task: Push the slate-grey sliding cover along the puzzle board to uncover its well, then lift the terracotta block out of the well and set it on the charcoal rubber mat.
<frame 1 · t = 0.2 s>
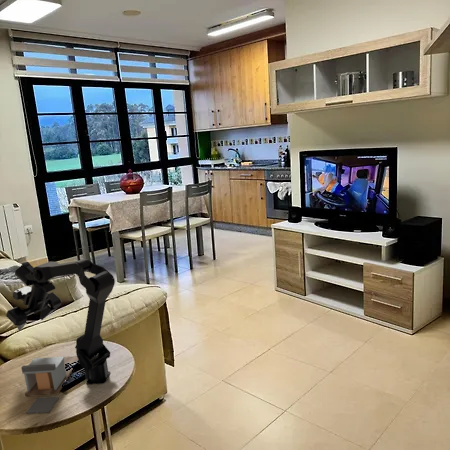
hand: (30, 324, 154), 15 cm above the table, tool tilted 30°, fingers open, 9 cm apart
puzzle board: (48, 386, 140), on the table
mat: (43, 405, 130), on the table
block: (46, 377, 139), in the puzzle board
cover: (45, 371, 139), point 5 cm above the table, slide at 0.0 cm
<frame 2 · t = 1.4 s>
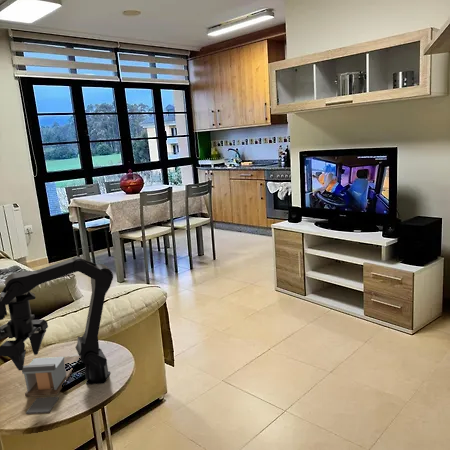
hand: (28, 362, 131), 13 cm above the table, tool pointing down, fingers open, 9 cm apart
nothing on the table moved.
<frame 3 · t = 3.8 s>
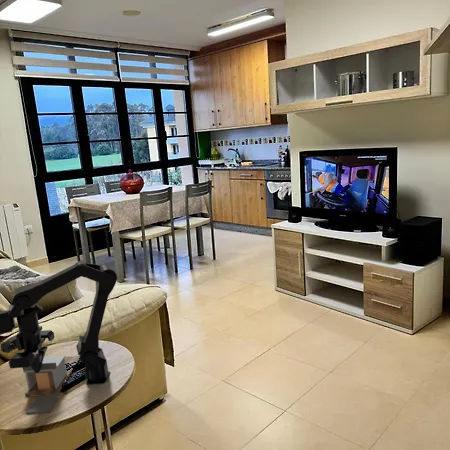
hand: (37, 372, 134), 8 cm above the table, tool pointing down, fingers closed
cover: (46, 370, 139), point 5 cm above the table, slide at 0.7 cm, touching gripper
everything else where it was.
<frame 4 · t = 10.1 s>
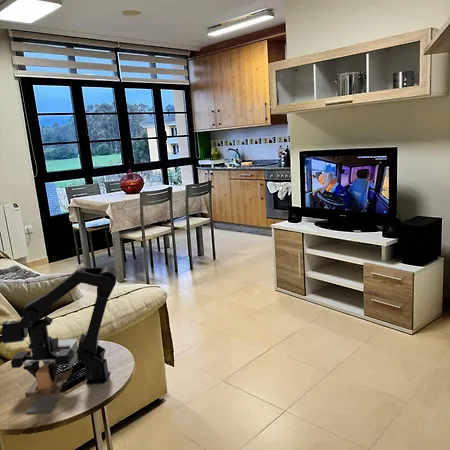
hand: (47, 381, 140), 2 cm above the table, tool pointing down, fingers closed on block, 4 cm apart
block: (46, 377, 139), in the puzzle board, touching gripper
cover: (60, 352, 151), point 5 cm above the table, slide at 12.4 cm
when the fingers open (4 cm above the table, at t = 14.3 s): block drops 1 cm, resting on mat.
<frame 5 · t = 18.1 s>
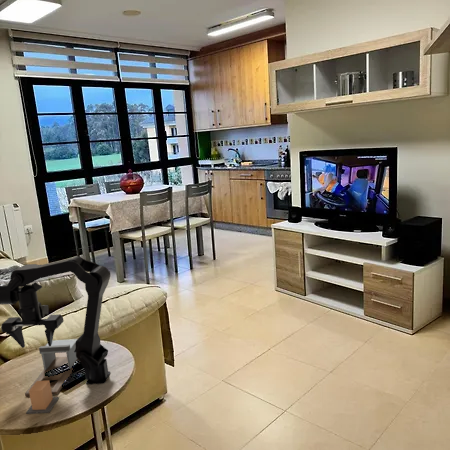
hand: (37, 346, 142), 12 cm above the table, tool pointing down, fingers open, 9 cm apart
block: (41, 394, 129), on the mat
everything else where it was.
at the end: cover slide at 12.4 cm; block 0.0 cm off-centre on the mat, point 3.7 cm above the mat's base; block tilted 0° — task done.
